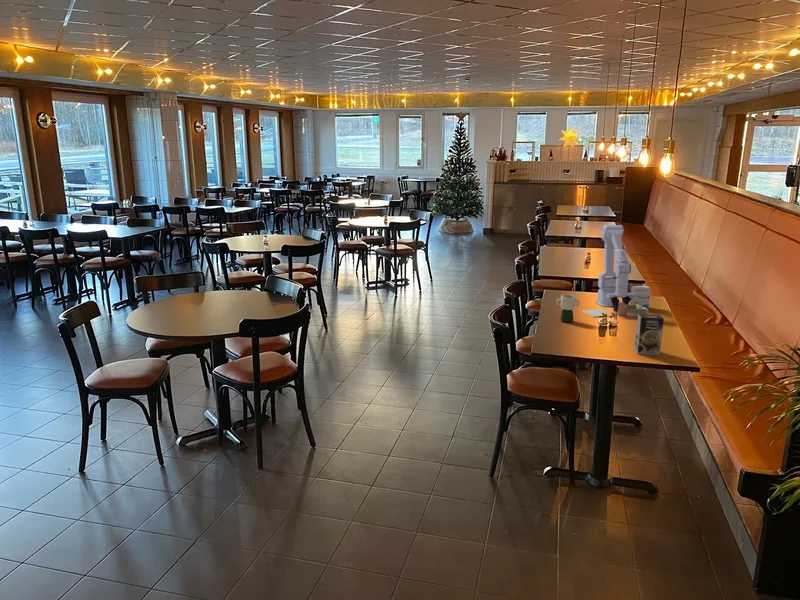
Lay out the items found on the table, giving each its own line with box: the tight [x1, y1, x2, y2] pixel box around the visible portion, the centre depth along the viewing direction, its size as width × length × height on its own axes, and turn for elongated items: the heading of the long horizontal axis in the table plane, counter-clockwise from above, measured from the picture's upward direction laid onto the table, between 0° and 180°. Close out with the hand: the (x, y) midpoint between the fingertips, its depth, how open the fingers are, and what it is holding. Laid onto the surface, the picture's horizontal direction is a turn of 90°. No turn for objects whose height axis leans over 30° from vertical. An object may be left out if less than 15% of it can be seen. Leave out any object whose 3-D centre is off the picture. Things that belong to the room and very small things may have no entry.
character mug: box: [556, 294, 580, 323], centre depth 298 cm, size 11×7×13 cm, turn 71°
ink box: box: [629, 285, 651, 310], centre depth 322 cm, size 8×5×12 cm, turn 84°
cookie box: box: [634, 313, 665, 356], centre depth 251 cm, size 9×6×16 cm
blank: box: [612, 300, 627, 317], centre depth 311 cm, size 6×4×6 cm, turn 9°
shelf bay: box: [625, 303, 649, 318], centre depth 312 cm, size 11×11×4 cm
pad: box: [582, 308, 611, 318], centre depth 313 cm, size 12×12×1 cm
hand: (619, 311), depth 311 cm, fingers closed on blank, 4 cm apart
